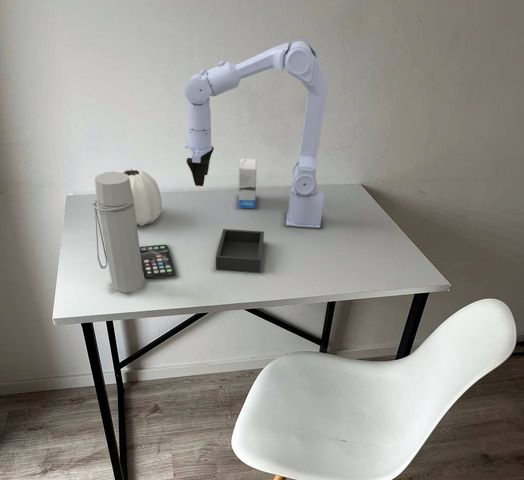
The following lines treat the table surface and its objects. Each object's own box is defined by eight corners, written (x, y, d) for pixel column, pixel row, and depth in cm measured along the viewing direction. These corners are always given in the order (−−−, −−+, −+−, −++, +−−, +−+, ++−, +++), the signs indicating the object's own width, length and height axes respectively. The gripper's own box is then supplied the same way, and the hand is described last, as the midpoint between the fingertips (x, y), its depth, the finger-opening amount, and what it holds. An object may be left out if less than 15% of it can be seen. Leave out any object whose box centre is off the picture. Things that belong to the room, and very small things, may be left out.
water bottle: (145, 276, 120) (132, 170, 104) (143, 295, 115) (130, 185, 98) (105, 277, 119) (85, 170, 103) (101, 296, 113) (80, 186, 97)
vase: (102, 217, 142) (94, 169, 134) (146, 205, 150) (141, 158, 141) (128, 236, 135) (121, 186, 126) (173, 222, 142) (169, 174, 134)
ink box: (255, 209, 151) (256, 169, 143) (238, 208, 151) (238, 168, 143) (255, 197, 157) (257, 158, 150) (239, 196, 157) (240, 157, 150)
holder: (263, 243, 135) (264, 231, 133) (259, 272, 124) (260, 260, 122) (223, 241, 135) (223, 228, 133) (216, 269, 124) (215, 257, 122)
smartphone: (167, 244, 131) (176, 274, 120) (167, 246, 132) (176, 276, 121) (137, 247, 129) (144, 277, 118) (137, 249, 130) (144, 280, 119)
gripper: (188, 118, 137) (191, 169, 146) (178, 135, 126) (182, 189, 135) (215, 120, 137) (216, 170, 146) (207, 137, 126) (208, 191, 135)
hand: (201, 180), depth 140 cm, fingers open, 7 cm apart
